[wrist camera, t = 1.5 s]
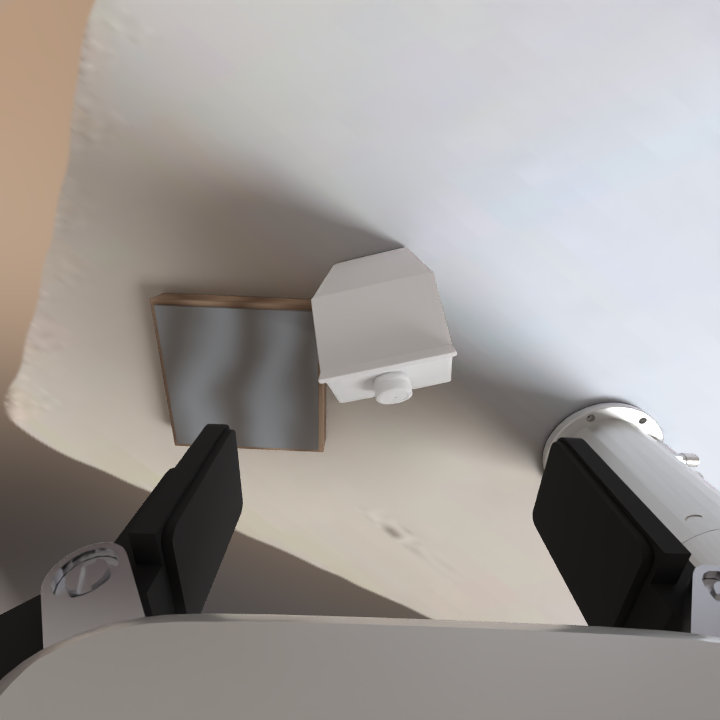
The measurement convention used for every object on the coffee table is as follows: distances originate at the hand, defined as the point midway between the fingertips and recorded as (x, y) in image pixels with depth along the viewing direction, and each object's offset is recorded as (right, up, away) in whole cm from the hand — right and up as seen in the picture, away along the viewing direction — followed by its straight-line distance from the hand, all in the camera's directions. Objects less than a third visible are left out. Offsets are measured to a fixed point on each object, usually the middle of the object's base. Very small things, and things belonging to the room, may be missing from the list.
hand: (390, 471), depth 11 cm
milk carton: (+1, +10, +26) cm, 28 cm away
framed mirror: (-13, +2, +29) cm, 31 cm away
